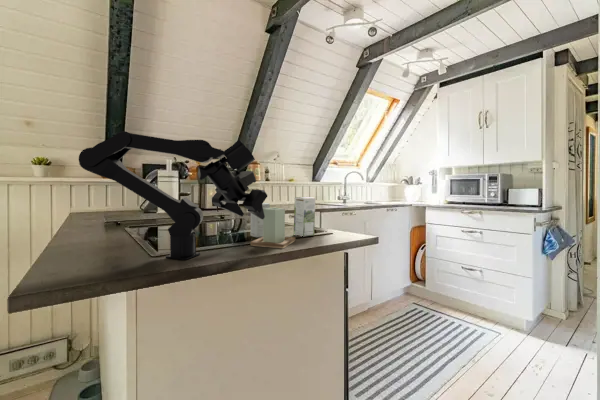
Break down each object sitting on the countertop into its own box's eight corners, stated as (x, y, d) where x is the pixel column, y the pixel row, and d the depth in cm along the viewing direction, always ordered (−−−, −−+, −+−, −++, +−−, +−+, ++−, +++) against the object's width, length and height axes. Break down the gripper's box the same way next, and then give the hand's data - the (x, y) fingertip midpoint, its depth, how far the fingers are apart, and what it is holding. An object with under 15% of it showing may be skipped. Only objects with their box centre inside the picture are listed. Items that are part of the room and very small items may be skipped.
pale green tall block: (275, 244, 95) (275, 209, 94) (263, 242, 98) (263, 208, 97) (284, 241, 99) (284, 208, 98) (272, 239, 102) (273, 207, 101)
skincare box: (256, 237, 107) (257, 204, 106) (249, 236, 110) (249, 203, 109) (270, 235, 111) (270, 203, 110) (263, 234, 114) (263, 202, 113)
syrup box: (304, 233, 117) (305, 196, 116) (314, 235, 112) (315, 197, 111) (293, 234, 113) (293, 196, 112) (303, 237, 109) (304, 197, 108)
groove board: (283, 248, 91) (283, 244, 91) (250, 245, 94) (250, 241, 94) (295, 240, 102) (295, 237, 102) (265, 238, 106) (265, 235, 106)
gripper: (263, 160, 81) (288, 199, 90) (220, 161, 92) (246, 196, 101) (240, 189, 75) (270, 228, 84) (197, 187, 86) (227, 221, 96)
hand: (252, 216), depth 92 cm, fingers open, 9 cm apart
